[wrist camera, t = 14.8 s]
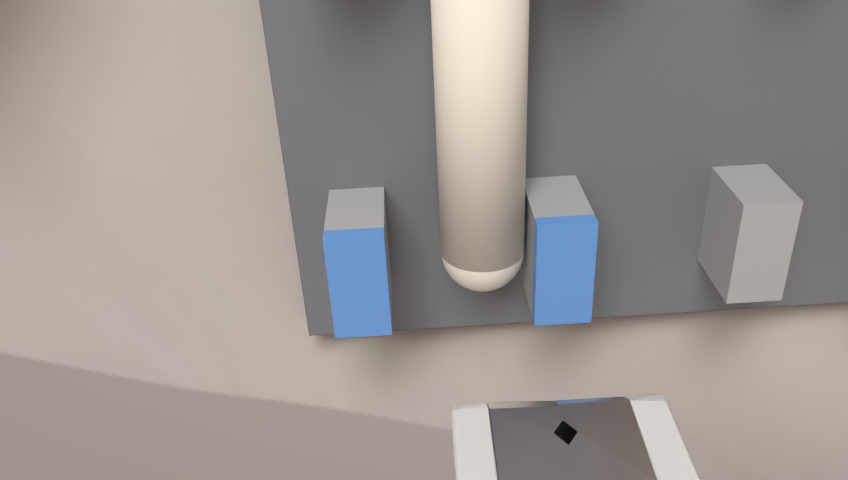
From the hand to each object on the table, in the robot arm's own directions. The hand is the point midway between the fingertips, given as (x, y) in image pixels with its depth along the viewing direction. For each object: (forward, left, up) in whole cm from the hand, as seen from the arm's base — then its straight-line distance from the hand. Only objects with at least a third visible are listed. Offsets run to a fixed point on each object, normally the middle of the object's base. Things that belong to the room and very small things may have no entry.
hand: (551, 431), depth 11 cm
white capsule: (-1, 0, -16) cm, 16 cm away
